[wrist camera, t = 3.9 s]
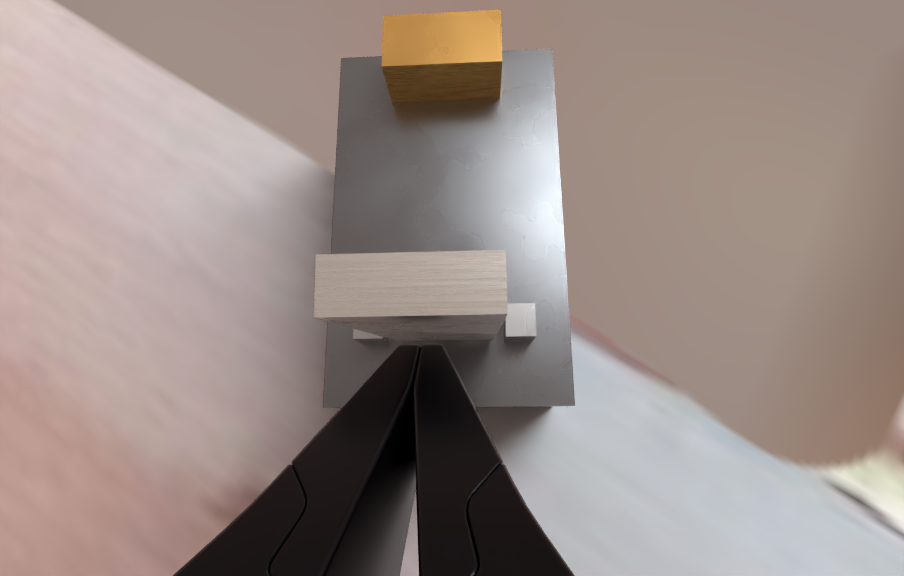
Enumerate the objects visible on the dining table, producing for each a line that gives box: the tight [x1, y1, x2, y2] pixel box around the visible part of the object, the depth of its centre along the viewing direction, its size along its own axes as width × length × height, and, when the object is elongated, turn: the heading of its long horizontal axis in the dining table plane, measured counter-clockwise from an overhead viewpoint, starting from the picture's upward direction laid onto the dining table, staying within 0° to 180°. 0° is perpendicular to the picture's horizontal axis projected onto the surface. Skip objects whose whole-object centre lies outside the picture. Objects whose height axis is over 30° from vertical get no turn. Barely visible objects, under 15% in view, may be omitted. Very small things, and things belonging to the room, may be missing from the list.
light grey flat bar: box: [314, 250, 508, 341], centre depth 12 cm, size 8×3×1 cm
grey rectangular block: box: [323, 10, 575, 408], centre depth 19 cm, size 13×8×7 cm, turn 0°
